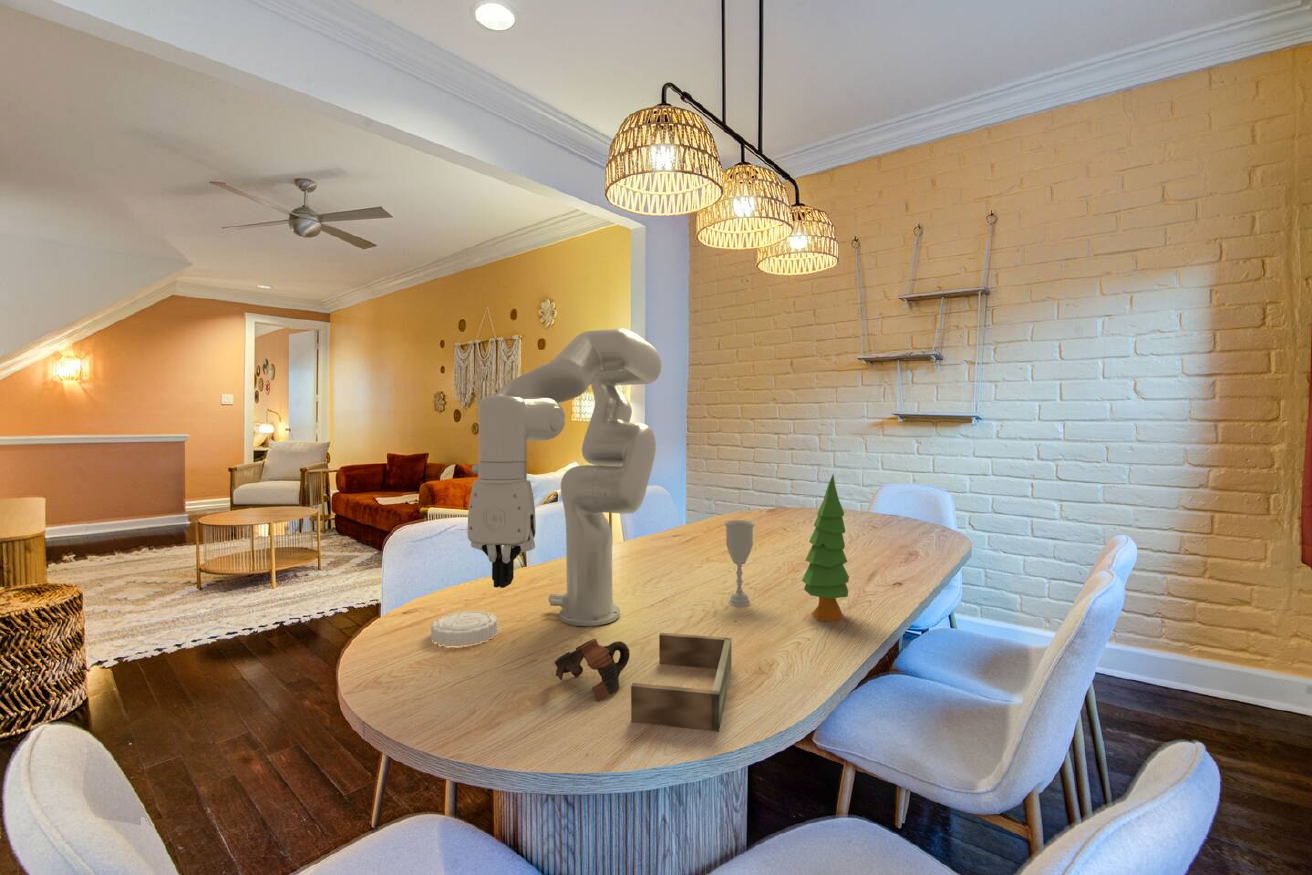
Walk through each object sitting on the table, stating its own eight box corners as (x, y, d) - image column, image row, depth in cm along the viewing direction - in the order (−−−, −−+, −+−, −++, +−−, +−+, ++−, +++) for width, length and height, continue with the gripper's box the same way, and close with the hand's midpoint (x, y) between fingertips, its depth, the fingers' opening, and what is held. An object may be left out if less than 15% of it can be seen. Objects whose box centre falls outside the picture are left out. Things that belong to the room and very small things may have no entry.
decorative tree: (847, 626, 115) (848, 475, 114) (798, 621, 119) (799, 474, 118) (849, 611, 124) (850, 471, 123) (804, 606, 128) (804, 470, 127)
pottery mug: (584, 714, 83) (559, 659, 85) (563, 716, 90) (541, 666, 92) (649, 671, 90) (625, 621, 91) (625, 676, 97) (603, 630, 99)
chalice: (754, 609, 126) (754, 526, 125) (722, 607, 127) (722, 525, 127) (755, 598, 133) (755, 520, 132) (725, 597, 134) (725, 519, 134)
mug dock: (631, 721, 80) (631, 685, 80) (660, 661, 99) (660, 632, 99) (719, 731, 77) (719, 694, 77) (731, 667, 97) (731, 637, 97)
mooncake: (490, 648, 106) (490, 629, 106) (422, 650, 105) (422, 631, 105) (502, 625, 118) (502, 607, 118) (441, 626, 117) (441, 609, 117)
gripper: (448, 473, 92) (448, 588, 92) (536, 475, 89) (536, 594, 89) (472, 470, 99) (472, 577, 100) (555, 471, 96) (555, 582, 97)
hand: (502, 585), depth 94 cm, fingers closed
